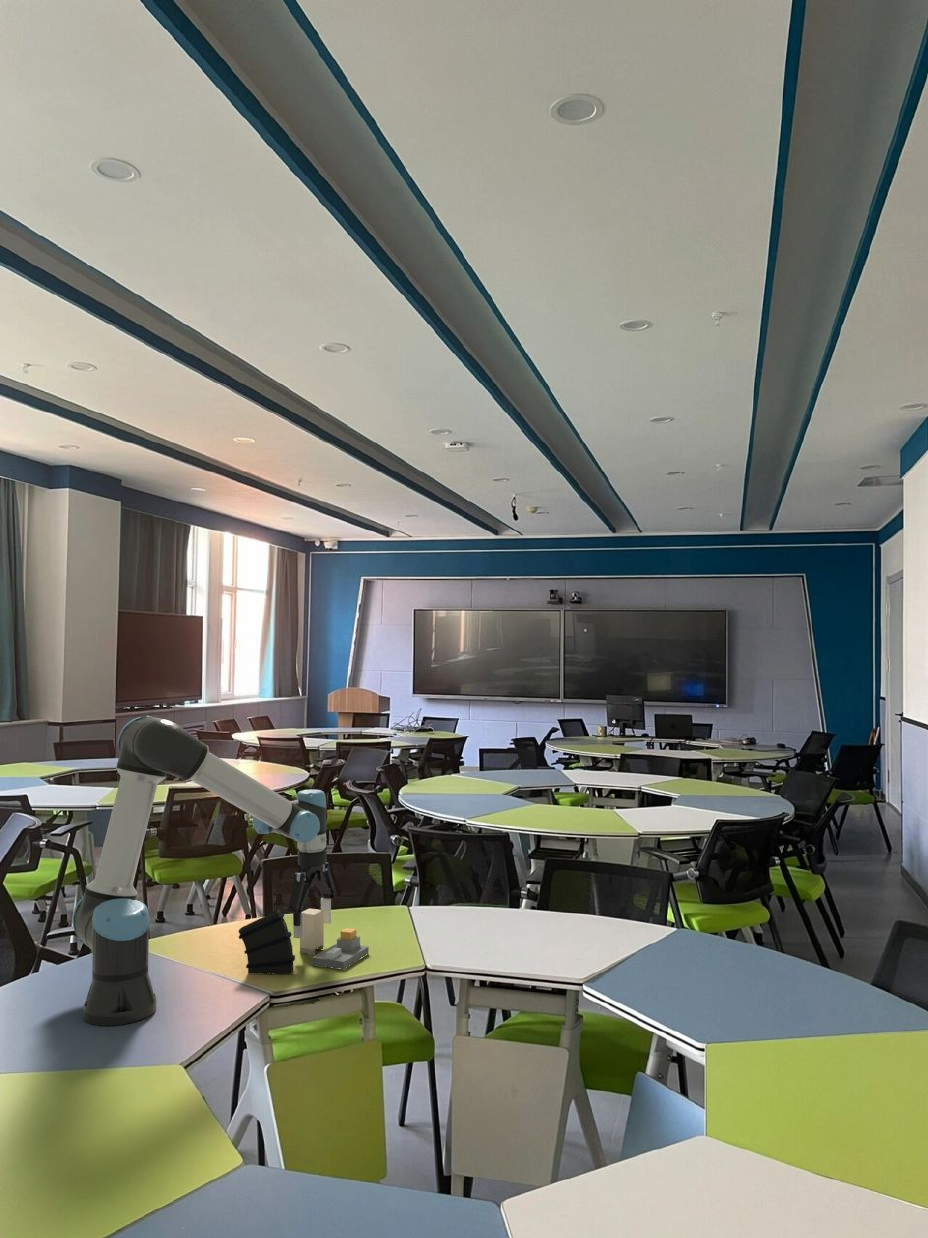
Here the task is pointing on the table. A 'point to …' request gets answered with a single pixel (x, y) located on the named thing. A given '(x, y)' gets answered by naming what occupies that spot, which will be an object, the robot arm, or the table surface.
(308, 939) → the block
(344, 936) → the button
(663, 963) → the table surface
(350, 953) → the rail cradle
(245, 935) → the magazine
